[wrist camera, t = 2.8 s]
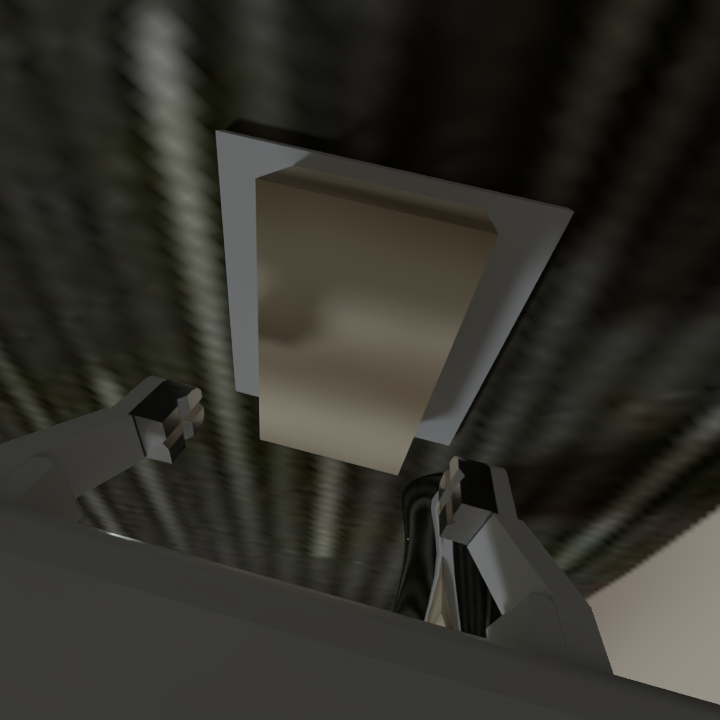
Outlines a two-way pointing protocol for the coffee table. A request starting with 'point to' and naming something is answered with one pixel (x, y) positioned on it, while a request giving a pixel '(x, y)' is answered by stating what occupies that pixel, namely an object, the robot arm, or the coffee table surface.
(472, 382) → the grey mat
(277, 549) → the coffee table surface
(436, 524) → the beer glass
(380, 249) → the birch lid
